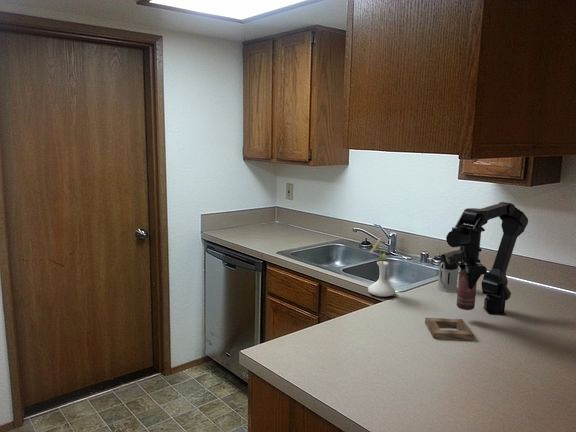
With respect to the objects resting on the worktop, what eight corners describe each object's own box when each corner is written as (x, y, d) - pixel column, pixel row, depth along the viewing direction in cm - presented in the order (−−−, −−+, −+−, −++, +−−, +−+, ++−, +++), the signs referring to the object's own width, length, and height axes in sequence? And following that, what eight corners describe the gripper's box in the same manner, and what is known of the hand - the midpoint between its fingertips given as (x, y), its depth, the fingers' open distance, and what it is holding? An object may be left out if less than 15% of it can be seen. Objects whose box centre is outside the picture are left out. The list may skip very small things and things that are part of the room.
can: (476, 311, 165) (480, 273, 162) (457, 309, 166) (461, 272, 164) (473, 305, 171) (476, 268, 168) (455, 303, 172) (458, 267, 170)
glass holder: (460, 289, 205) (463, 256, 202) (448, 297, 194) (451, 262, 191) (441, 284, 210) (443, 252, 208) (428, 292, 199) (430, 258, 197)
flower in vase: (377, 288, 204) (380, 232, 199) (400, 294, 196) (403, 237, 191) (359, 294, 195) (362, 236, 190) (382, 302, 187) (386, 241, 182)
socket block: (461, 324, 165) (462, 319, 165) (473, 340, 153) (474, 334, 152) (424, 322, 166) (425, 317, 166) (433, 338, 154) (433, 332, 153)
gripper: (441, 237, 174) (438, 277, 177) (455, 249, 156) (451, 294, 158) (471, 238, 173) (468, 278, 176) (489, 250, 155) (485, 295, 158)
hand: (467, 286), depth 167 cm, fingers closed on can, 5 cm apart
